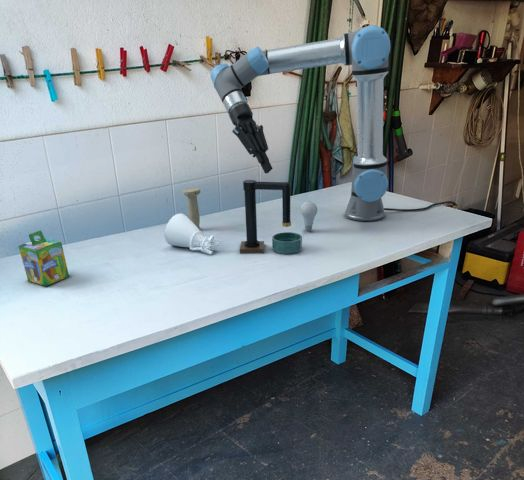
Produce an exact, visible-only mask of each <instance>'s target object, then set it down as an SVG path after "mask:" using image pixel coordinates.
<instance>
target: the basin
mask: <svg viewBox="0 0 524 480" xmlns="http://www.w3.org/2000/svg"><path fill="white" fill-rule="evenodd" d="M271 237H272V238H271V245H272V250H273V252H274V253H277V254H282V255H292V254H296V253H299V252H300V251H302V250H303V235H301V234H300V233H298V232H292V231H291V232H290V231H287V232H285V231H283V232H278V233H275V234H273V235H272V236H271Z"/></svg>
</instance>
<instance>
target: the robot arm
mask: <svg viewBox="0 0 524 480" xmlns="http://www.w3.org/2000/svg"><path fill="white" fill-rule="evenodd" d="M390 39H391V38H390V37H389V34H388V32H387V31H386V30H385V29H384V28H382V27H381V26H379V25H375V24H374V25H373V24H370V25H367V26H364V27H362V28H359V29H357V30H354V31H350V32H347V33H343V34H342V35H341V36H340V37H337V38H332V39H326V40H319V41H313V42H308V43H300V44H296V45H290V46H289V45H288V46H284V47H278V48H271V49H266V50H262V49H261V48H260V47H259V46H255V47H253V48H252V49H250V50H249V51H247V52H246V53H244V55H243V56H240V58H239V59H237V60H236V61H235V62H234V63H233V64H231V65H229V64H228V63H226V62H225V63H223V62H222V63H219V64H217V65H216V66H214V67H213V68H212V69H211V72H210V74H209V75H210V79H211V82H212V85H213V88H214V89H215V90H216V93H217V95H218V97H219V99H220V101H221V102H222V104H223V107H224V108H225V110H226V112H227V114H228V117H229V119H230V121H231V123H232V125H233V126H234V128H233V129H232V130H231V131H232V133H233V134H234V135H235V136H236V137H237V139H238V140H239V141H240V143H241V144H242V146H243V147H244V148H245V150H246V152H247V153H248V154H249V155H250V156H251V155H252V157H253V158H256V160H257V162H258V163H259V164H260V167H261V168H262V170H263V172H264V174H269V173H270V172H271V171H272V170H273V168H274V167H273V166H272V164H271V162H270V159H269V156H268V155H267V151H269V146H268V145H269V144H268V142H267V139H266V136H265V133H264V126H263V125H262V124H260V125H258V124H257V123H256V120H254V119H253V118H254V117H253V111H252V108H251V107H250V105H249V103H248V101H247V98H246V96H245V94H244V93H243V91H242V88H244V87H245V86H246V85H248V84H249V83H250V82H252V81H253V80H255V79H256V78H257V77H262V76H268V75H274V74H279V73H286V72H291V71H298V70H305V69H311V68H318V67H324V66H331V65H337V64H341V65H343V66H344V67H347V66H351V77H352V78H353V79H354V80H355V81H356V105H357V106H356V116H357V117H356V118H357V119H356V121H357V123H356V124H357V127H356V128H357V155H355V156H354V157H353V160H352V164H351V165H352V172H351V189H350V190H351V191H350V198H349V200H348V203H347V204H346V205H347V206H346V209H345V214H344V216H345V217H346V218H347V219H349V220H352V221H357V222H376V221H380V220H382V219H384V218H385V211H392V212H418V211H425V210H429V209H430V208H432V207H435V206H440V205H445V204H452V205H454V206H455V207H456V206H457V207H458V204H457V203H456V202H455V201H452V200H451V201H450V200H445V201H441V202H435V203H431V204H429V205H428V206H425V207H421V208H420V207H419V208H388V207H384V203H383V199H382V198H383V196H385V195H386V193H387V191H388V187H389V179H388V159H387V157H386V156H385V155H384V152H383V151H384V79H385V77H386V76H387V75H388V74H389V57H390V56H389V55H390V52H391V48H392V47H391V40H390Z"/></svg>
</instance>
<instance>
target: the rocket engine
mask: <svg viewBox="0 0 524 480" xmlns="http://www.w3.org/2000/svg"><path fill="white" fill-rule="evenodd" d="M164 239H165V242H166V243H167V244H168V245H170V246H174V247H178V248H189V250H190V251H192V252H193V251H195V252H197V251H198V252H199V251H201V252H202V253H205V254H208V255H210V256H211V255H213V252H215V251H216V248H215V247H214V245H215V246H217V247H219V246H220V245H221V242H220V241H218V240H216V239H215V236H214V235H213V234H210V235H209V236H206V235H204V233H203V232H202V231H201V230H200V229H198V228H197V226H196V225H195V224H194V223H193V222H192V221H191V220H190V219H189V216H186V214H184V213H180V212H179V213H176V214H174V215H173V216H172V217H171V218H170V219H169V220H168V222H167V224H166V226H165V230H164Z"/></svg>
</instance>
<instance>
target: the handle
mask: <svg viewBox="0 0 524 480" xmlns="http://www.w3.org/2000/svg"><path fill="white" fill-rule="evenodd" d="M182 193H183V194H182V195H184V196H185V197H187V205H188V206H187V207H188V208H187V209H188V218H189V219H190V220H191V221H192V222H193V223H194V224H195V225H196V226H197V228H198V229H199V230H200V228H201V227H200V223H201V222H200V221H201V220H200V219H201V218H200V212H199V211H200V210H199V205H198V204H199V203H198V195H199V194H201V189H200V188H199V187H191V188H186V189H184V190H182Z"/></svg>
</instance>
